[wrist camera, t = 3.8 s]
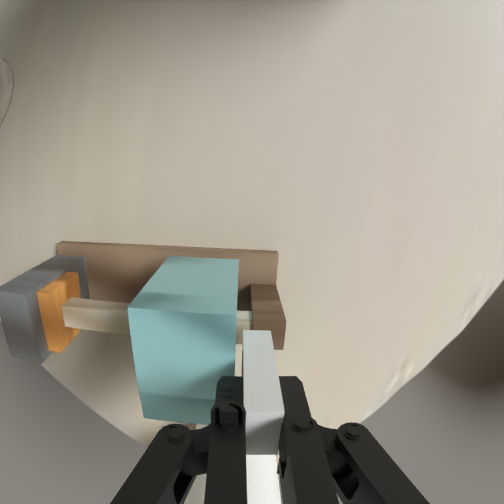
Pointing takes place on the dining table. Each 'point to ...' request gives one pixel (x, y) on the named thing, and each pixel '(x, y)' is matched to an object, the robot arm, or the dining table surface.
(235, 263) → the sleeve
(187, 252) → the rail
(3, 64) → the mug
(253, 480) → the cup
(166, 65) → the dining table surface
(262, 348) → the robot arm
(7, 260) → the dining table surface
